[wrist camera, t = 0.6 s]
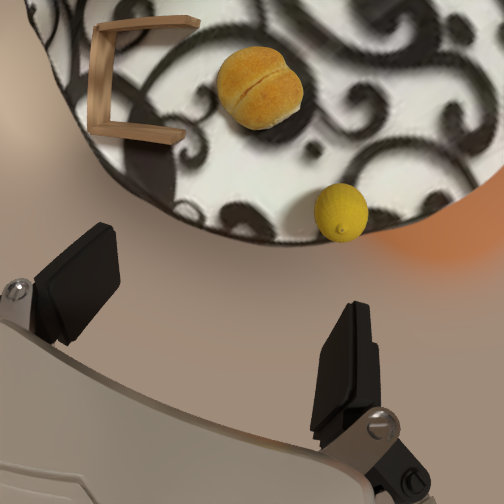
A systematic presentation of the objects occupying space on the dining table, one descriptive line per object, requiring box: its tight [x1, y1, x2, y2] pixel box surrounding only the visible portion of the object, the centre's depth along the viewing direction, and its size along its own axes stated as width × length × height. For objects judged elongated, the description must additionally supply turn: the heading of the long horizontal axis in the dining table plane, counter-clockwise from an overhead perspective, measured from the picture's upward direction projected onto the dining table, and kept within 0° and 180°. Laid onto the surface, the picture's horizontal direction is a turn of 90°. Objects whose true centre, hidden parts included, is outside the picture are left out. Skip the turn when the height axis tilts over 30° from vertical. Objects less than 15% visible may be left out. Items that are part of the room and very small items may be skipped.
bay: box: [87, 15, 201, 145], centre depth 28 cm, size 14×12×4 cm
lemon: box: [314, 183, 368, 243], centre depth 29 cm, size 6×6×8 cm
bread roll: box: [217, 47, 303, 130], centre depth 26 cm, size 8×9×4 cm
